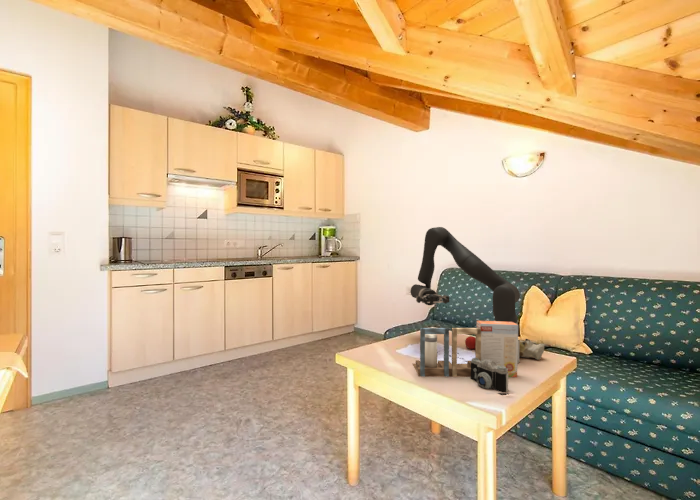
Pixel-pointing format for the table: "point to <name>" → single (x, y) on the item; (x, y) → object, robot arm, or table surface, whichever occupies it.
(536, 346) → the ceramic sculpture
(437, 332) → the wooden rack
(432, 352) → the white cylinder
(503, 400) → the table surface
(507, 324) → the cracker box
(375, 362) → the table surface
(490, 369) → the camera
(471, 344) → the kendama
